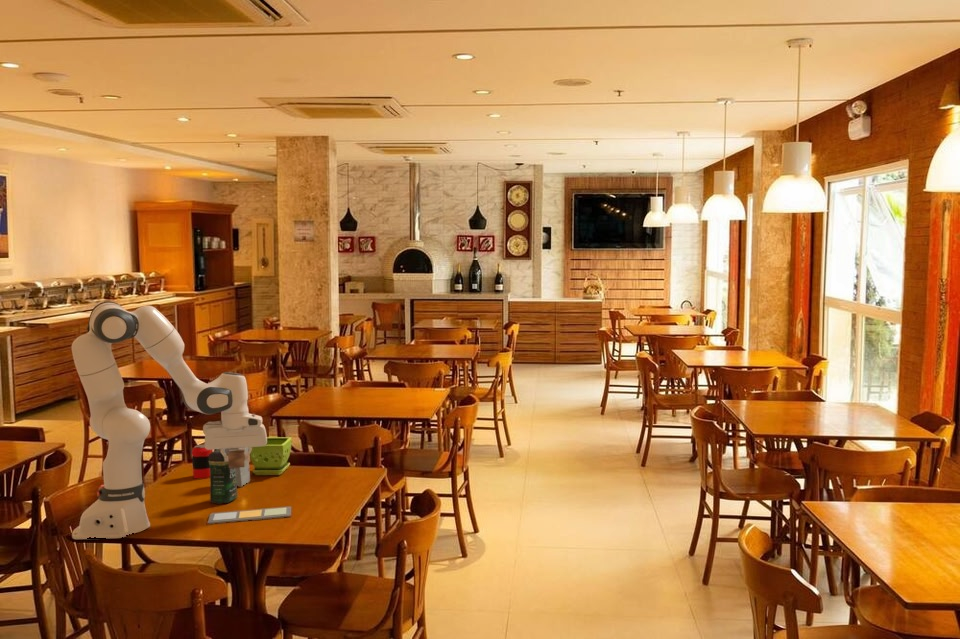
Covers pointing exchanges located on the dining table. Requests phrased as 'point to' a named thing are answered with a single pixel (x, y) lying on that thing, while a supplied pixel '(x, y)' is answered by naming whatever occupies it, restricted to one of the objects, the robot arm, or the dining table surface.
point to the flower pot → (271, 456)
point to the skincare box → (242, 472)
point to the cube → (236, 458)
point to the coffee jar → (221, 478)
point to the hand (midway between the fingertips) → (236, 460)
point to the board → (249, 515)
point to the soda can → (201, 462)
